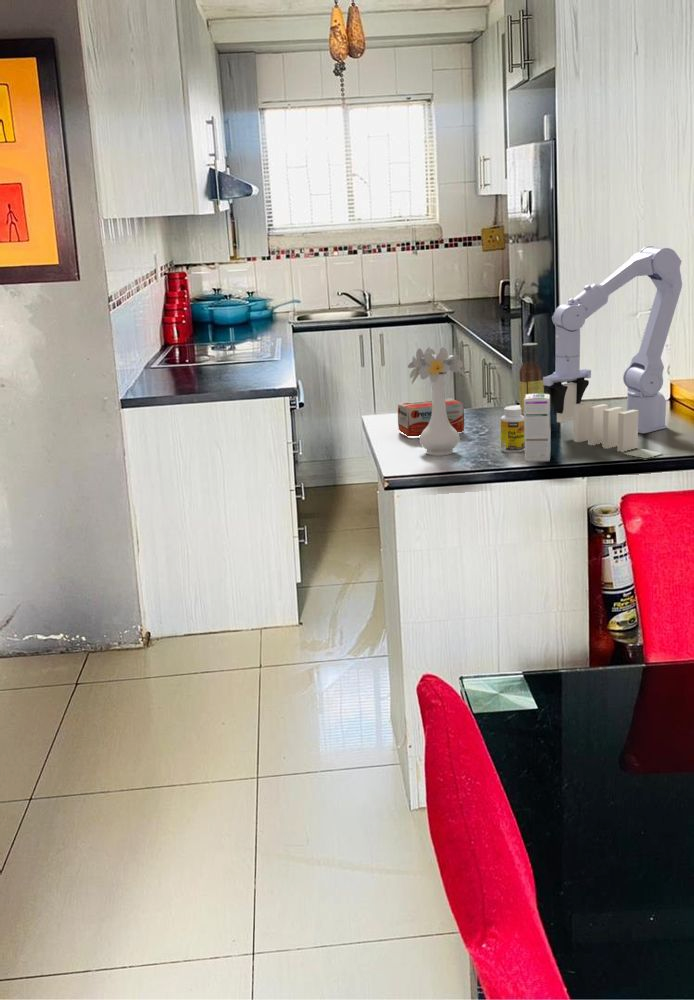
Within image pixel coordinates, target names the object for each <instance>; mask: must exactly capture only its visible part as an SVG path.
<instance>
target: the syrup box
mask: <svg viewBox="0 0 694 1000" xmlns="http://www.w3.org/2000/svg"><path fill="white" fill-rule="evenodd" d="M551 418H552V417H551V397H550V394H549V393H544V394H543V393H536V394H526V395H525V397H524V461H525V462H550V460H551V456H552V455H551V453H552V452H551V451H552V448H551V439H552V438H551V436H552V435H551V432H552V431H551V430H552V429H551V428H552V427H551V426H552V425H551V423H552V422H551Z"/></svg>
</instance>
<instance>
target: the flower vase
mask: <svg viewBox="0 0 694 1000" xmlns="http://www.w3.org/2000/svg"><path fill="white" fill-rule="evenodd" d="M415 353H416V355H415V356H414V355H413V356H412V358H411V359H412V361H411V362H410V363H408V365H407V369H412V370H411V372H410V373H409V379H412V381H411V385H413V384H414V382H415V381H416V380H417V378H418V377H419V376H420V379H421V380H426V379H427V378H428V377H429V379H430V385H431V392H432V394H431V395H432V397H431V400H432V415H431V419H430V422H429V424H428V426H427V427H426V428H425V429H424V430H423V431H422V433H421V436H420V438H419V443H420V445H421V446H422V447H423V448H424V449H425V450H426V454H427V453H428V454H427V455H429V454H430V455H429V456H433V455H434V457H435V456H436V457H441V456H442V457H443V456H449V455H452V453H453V452H454V450H453V449H455V448H456V447H457V446H458V444H459V443H460V435H459V434H458V432H457V431H456V430H455V429H454V428H453V427H452V426H451V424H450V422H449V420H448V418H447V414H446V405H445V399H446V382H447V377H448V375H449V373H448V372H449V371H451V372H453V373H460V374H461V375H462V376H464V377H465V378H466V379H467V378H468V376H467V374H466V372H465V370H463V369H462V367H463V366H464V363H463V360H462V358H461V356H460V355H458V354H457V350H456V347H453V352H452V355H449V353H448V350H447V348H445V347H443V346H442V347H440V349H439V352H438V354H436V351H435V350H434V349H433V348H431V347H427V348H426V350H425V351H424V352H423V349H422V348H417V351H416V352H415Z"/></svg>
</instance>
